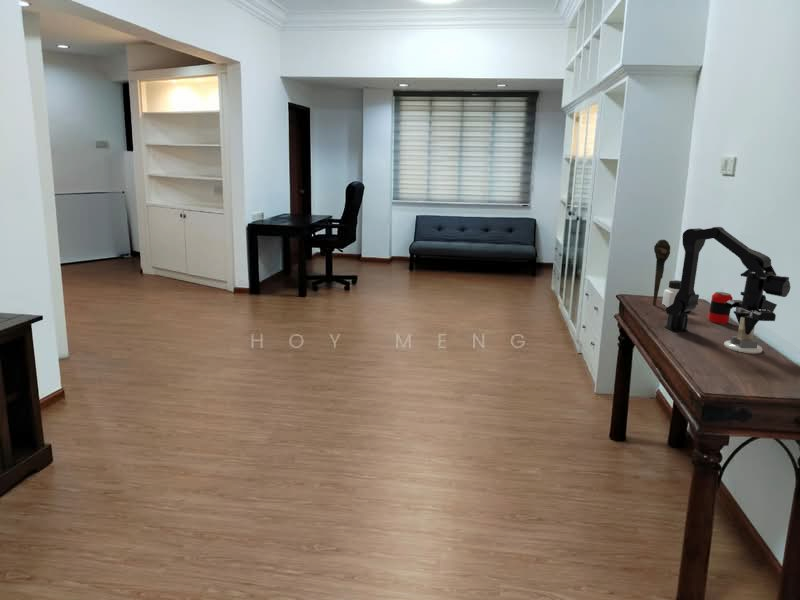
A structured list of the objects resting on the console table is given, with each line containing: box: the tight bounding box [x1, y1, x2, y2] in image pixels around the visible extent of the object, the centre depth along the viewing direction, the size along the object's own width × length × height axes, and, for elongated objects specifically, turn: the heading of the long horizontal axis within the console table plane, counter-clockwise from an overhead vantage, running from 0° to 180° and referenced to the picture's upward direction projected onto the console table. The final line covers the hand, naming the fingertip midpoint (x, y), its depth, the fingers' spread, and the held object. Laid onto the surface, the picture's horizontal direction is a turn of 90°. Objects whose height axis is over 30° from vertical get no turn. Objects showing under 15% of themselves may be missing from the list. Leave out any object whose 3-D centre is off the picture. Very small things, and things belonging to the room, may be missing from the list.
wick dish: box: [723, 335, 763, 354], centre depth 215 cm, size 12×12×4 cm
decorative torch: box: [652, 239, 671, 306], centre depth 270 cm, size 7×7×30 cm
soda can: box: [707, 291, 734, 325], centre depth 249 cm, size 8×8×12 cm
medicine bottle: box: [661, 279, 681, 308], centre depth 272 cm, size 7×7×12 cm
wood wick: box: [736, 317, 756, 340], centre depth 213 cm, size 4×2×8 cm, turn 97°
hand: (745, 333), depth 214 cm, fingers closed on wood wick, 2 cm apart
